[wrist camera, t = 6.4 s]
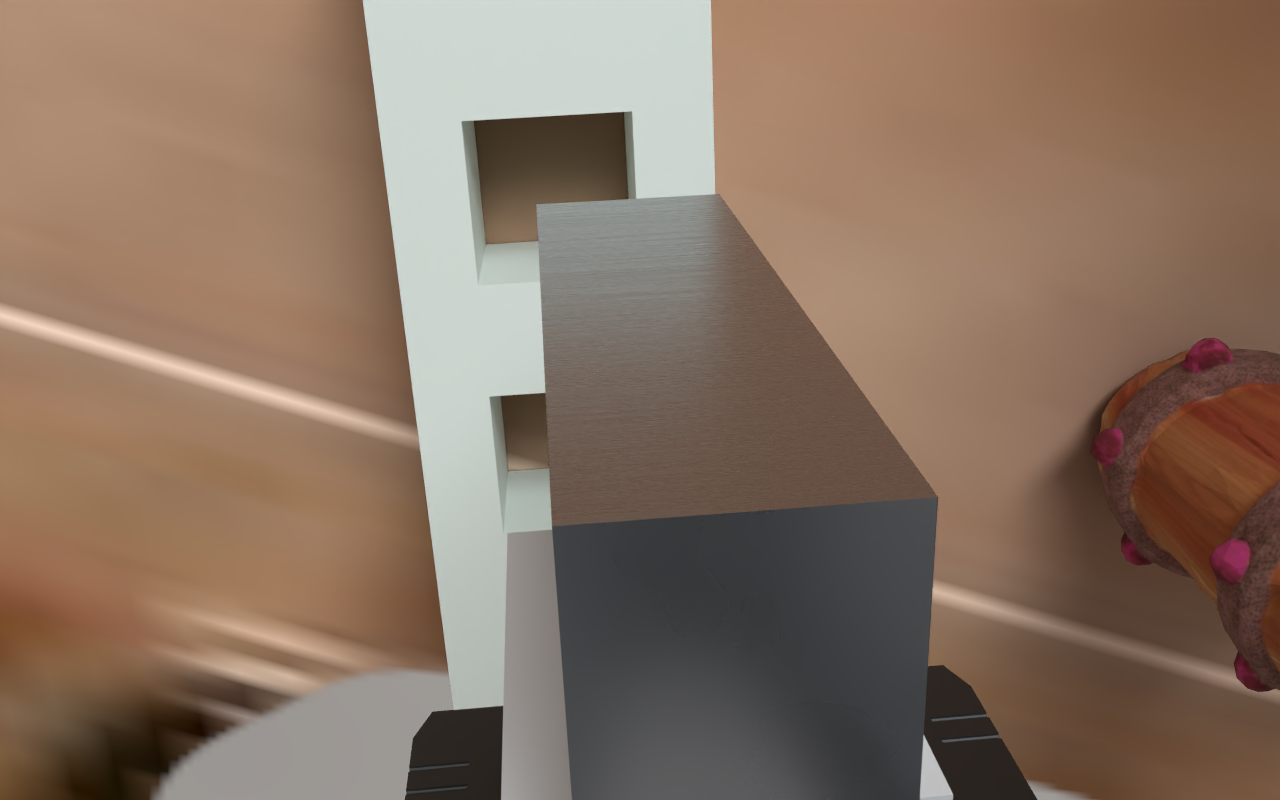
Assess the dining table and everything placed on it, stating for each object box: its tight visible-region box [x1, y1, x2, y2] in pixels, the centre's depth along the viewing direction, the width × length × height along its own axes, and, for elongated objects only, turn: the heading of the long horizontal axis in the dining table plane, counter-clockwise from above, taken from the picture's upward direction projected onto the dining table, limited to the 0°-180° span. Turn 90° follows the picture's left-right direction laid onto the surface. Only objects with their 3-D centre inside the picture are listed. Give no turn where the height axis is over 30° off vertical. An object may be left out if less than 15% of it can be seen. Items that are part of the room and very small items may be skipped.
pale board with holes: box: [363, 0, 715, 710], centre depth 37 cm, size 26×9×4 cm, turn 3°
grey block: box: [536, 194, 938, 800], centre depth 17 cm, size 11×3×12 cm, turn 2°
